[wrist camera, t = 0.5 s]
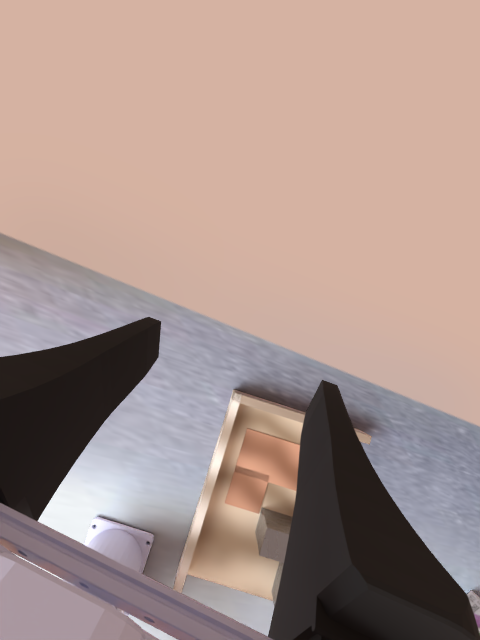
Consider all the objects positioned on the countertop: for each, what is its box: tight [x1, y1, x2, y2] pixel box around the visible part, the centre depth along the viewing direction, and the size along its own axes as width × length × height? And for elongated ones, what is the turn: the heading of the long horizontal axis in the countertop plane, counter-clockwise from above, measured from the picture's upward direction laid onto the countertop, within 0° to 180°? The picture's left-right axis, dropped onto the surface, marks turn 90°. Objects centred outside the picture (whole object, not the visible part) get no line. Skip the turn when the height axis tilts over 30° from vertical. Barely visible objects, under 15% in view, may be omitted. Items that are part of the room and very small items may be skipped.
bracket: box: [255, 507, 292, 606], centre depth 35 cm, size 9×8×4 cm
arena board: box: [173, 390, 372, 601], centre depth 36 cm, size 23×18×4 cm
